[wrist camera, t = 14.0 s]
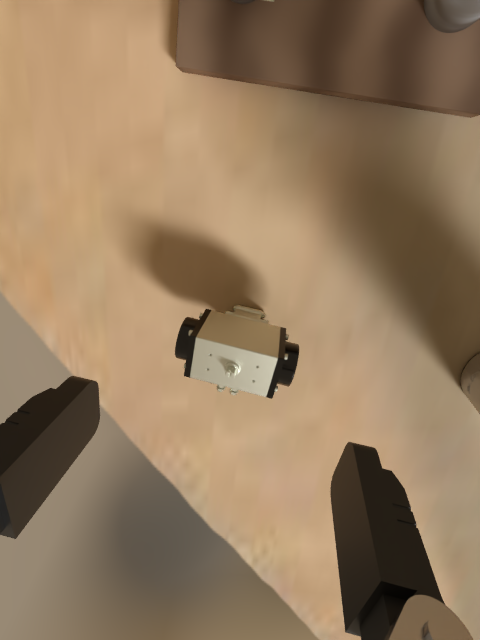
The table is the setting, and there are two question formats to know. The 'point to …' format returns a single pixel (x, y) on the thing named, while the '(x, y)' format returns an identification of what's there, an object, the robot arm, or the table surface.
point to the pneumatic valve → (237, 351)
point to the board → (341, 48)
